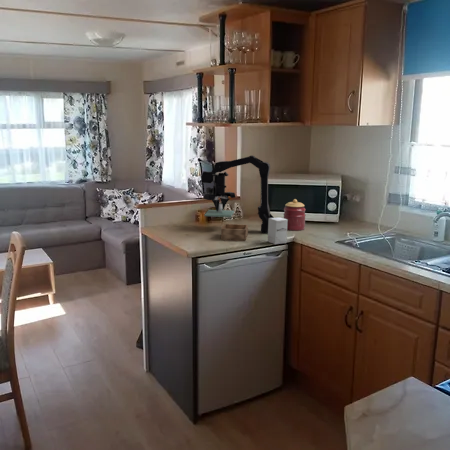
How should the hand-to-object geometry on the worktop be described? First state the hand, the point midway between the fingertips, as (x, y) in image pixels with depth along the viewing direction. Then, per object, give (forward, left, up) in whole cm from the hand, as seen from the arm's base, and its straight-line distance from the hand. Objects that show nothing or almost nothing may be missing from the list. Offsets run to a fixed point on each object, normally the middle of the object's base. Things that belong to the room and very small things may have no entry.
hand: (219, 210), depth 273 cm
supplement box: (-34, +24, -11) cm, 43 cm away
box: (-11, +18, -11) cm, 24 cm away
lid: (0, 0, -2) cm, 2 cm away
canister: (-43, -12, -11) cm, 46 cm away
